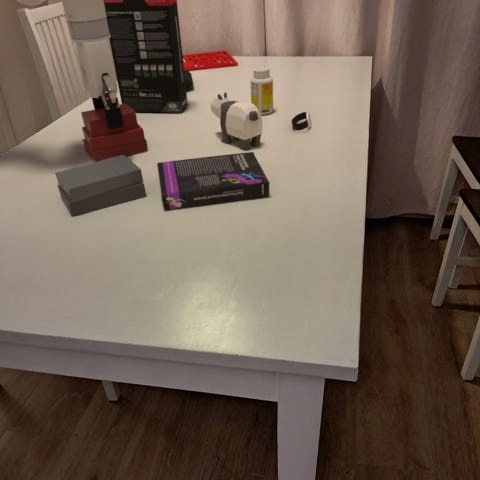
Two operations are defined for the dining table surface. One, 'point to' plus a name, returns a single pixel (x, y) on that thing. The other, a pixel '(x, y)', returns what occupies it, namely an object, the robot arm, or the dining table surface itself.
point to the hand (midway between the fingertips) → (109, 121)
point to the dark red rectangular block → (98, 123)
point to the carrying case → (188, 80)
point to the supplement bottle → (262, 90)
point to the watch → (304, 124)
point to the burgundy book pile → (115, 144)
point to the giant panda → (238, 121)
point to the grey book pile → (100, 184)
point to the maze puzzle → (208, 60)
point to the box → (211, 180)
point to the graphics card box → (147, 54)
